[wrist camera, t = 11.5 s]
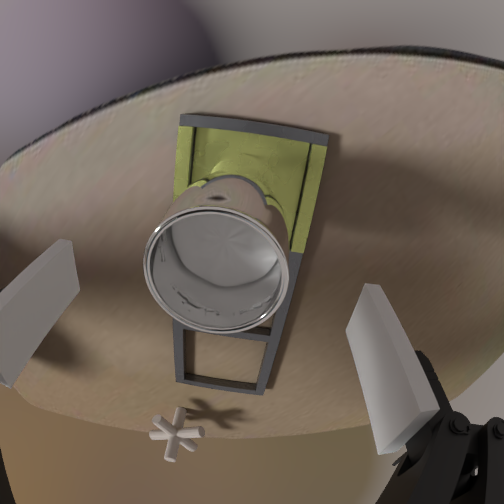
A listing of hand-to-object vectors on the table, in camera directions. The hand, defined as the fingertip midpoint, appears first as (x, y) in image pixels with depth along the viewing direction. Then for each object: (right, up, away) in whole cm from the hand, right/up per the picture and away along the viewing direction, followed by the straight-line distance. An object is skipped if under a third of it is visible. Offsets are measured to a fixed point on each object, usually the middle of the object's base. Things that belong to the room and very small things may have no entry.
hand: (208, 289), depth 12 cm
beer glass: (+1, +7, +14) cm, 16 cm away
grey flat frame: (0, -2, +19) cm, 19 cm away
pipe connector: (-10, -25, +32) cm, 42 cm away
